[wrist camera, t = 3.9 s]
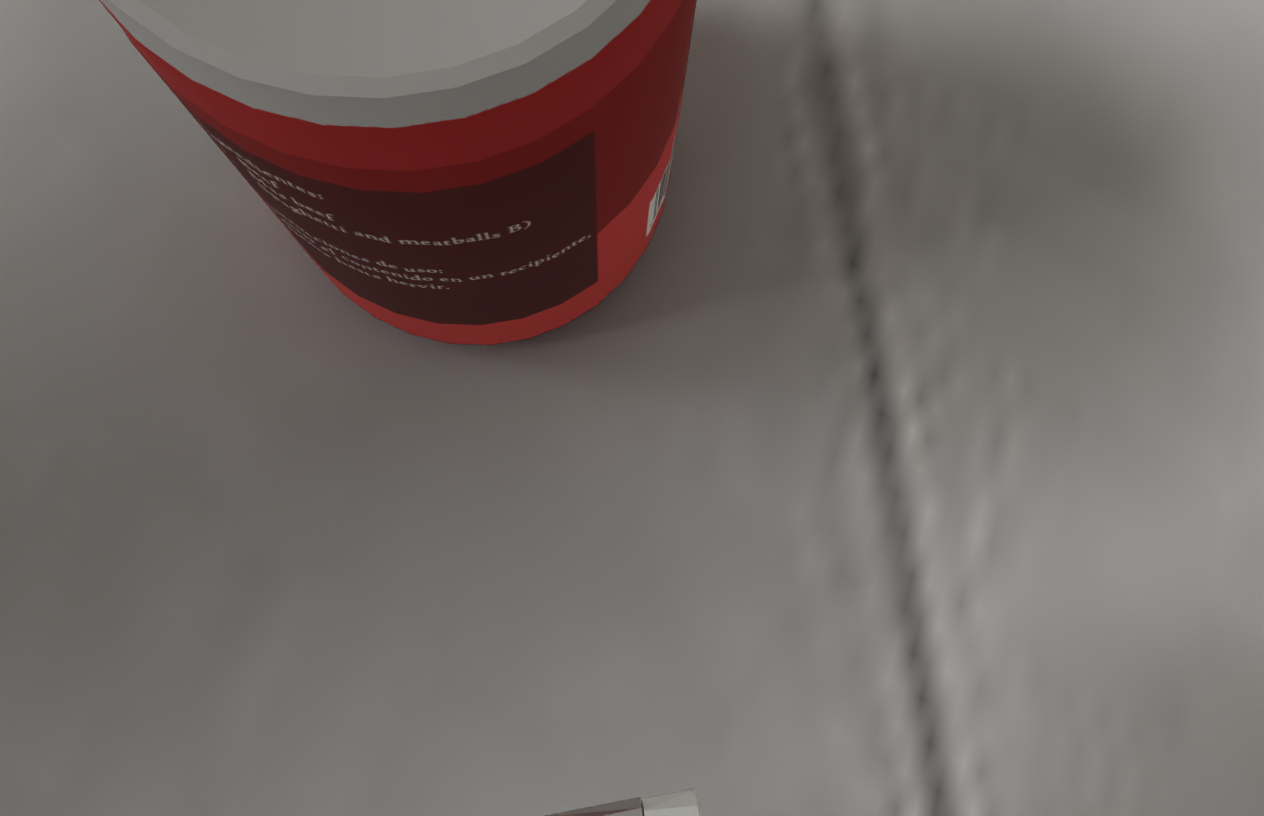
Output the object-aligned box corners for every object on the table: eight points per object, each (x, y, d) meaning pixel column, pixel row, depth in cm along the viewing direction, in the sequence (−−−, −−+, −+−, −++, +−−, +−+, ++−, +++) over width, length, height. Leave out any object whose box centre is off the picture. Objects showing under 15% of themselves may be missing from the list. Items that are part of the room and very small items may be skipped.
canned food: (545, -72, 24) (493, -652, 13) (744, 236, 22) (871, -120, 12) (221, 98, 23) (-126, -372, 12) (412, 428, 22) (215, 234, 11)
